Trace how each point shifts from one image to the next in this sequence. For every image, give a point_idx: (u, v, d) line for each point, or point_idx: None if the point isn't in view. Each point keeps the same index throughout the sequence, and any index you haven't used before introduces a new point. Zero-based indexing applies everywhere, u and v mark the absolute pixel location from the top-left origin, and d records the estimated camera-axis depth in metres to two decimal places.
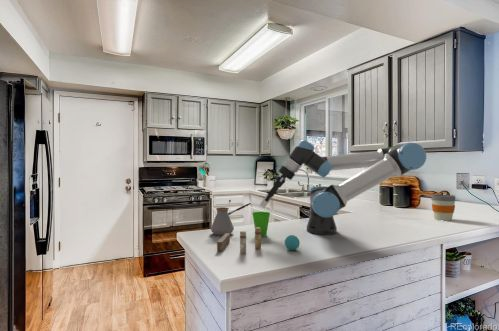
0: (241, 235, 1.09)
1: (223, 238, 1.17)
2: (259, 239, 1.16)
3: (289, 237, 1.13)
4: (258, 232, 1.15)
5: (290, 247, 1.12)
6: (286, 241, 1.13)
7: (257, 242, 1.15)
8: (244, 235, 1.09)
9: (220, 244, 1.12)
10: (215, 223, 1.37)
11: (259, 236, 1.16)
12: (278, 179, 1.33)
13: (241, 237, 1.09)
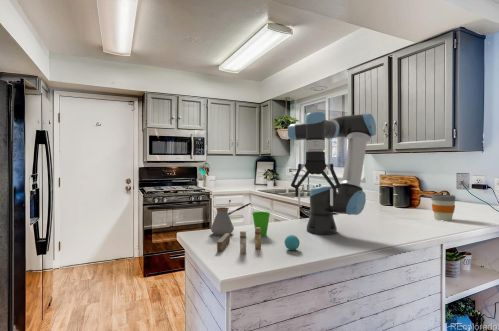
0: (241, 235, 1.09)
1: (223, 238, 1.17)
2: (259, 239, 1.16)
3: (289, 237, 1.13)
4: (258, 232, 1.15)
5: (290, 247, 1.12)
6: (286, 241, 1.13)
7: (257, 242, 1.15)
8: (244, 235, 1.09)
9: (220, 244, 1.12)
10: (215, 223, 1.37)
11: (259, 236, 1.16)
12: (321, 168, 1.11)
13: (241, 237, 1.09)
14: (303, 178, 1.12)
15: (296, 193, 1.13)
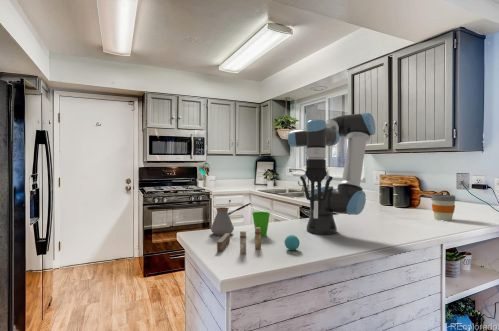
0: (241, 235, 1.09)
1: (223, 238, 1.17)
2: (259, 239, 1.16)
3: (289, 237, 1.13)
4: (258, 232, 1.15)
5: (290, 247, 1.12)
6: (286, 241, 1.13)
7: (257, 242, 1.15)
8: (244, 235, 1.09)
9: (220, 244, 1.12)
10: (215, 223, 1.37)
11: (259, 236, 1.16)
12: (321, 178, 1.11)
13: (241, 237, 1.09)
14: (312, 189, 1.12)
15: (312, 206, 1.12)
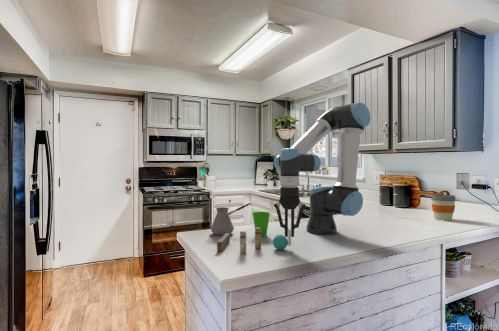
0: (241, 235, 1.09)
1: (223, 238, 1.17)
2: (259, 239, 1.16)
3: (273, 243, 1.14)
4: (258, 232, 1.15)
5: (282, 247, 1.12)
6: (276, 247, 1.14)
7: (257, 242, 1.15)
8: (244, 235, 1.09)
9: (220, 244, 1.12)
10: (215, 223, 1.37)
11: (259, 236, 1.16)
12: (294, 205, 1.13)
13: (241, 237, 1.09)
14: (286, 216, 1.13)
15: (285, 233, 1.14)
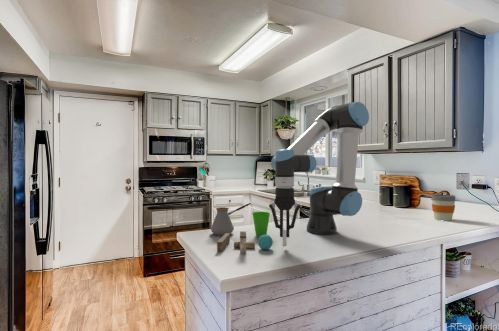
0: (241, 235, 1.09)
1: (223, 238, 1.17)
2: None
3: (267, 248, 1.14)
4: (237, 244, 1.16)
5: (266, 241, 1.13)
6: (270, 245, 1.14)
7: (247, 246, 1.16)
8: (244, 235, 1.09)
9: (220, 244, 1.12)
10: (215, 223, 1.37)
11: None
12: (289, 206, 1.13)
13: (241, 237, 1.09)
14: (281, 217, 1.14)
15: (281, 234, 1.14)
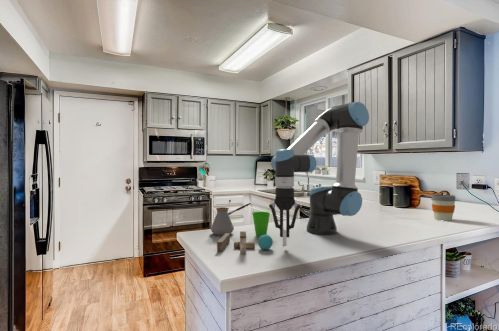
0: (241, 235, 1.09)
1: (223, 238, 1.17)
2: None
3: (267, 248, 1.14)
4: (237, 245, 1.16)
5: (266, 241, 1.13)
6: (270, 245, 1.14)
7: (247, 246, 1.16)
8: (244, 235, 1.09)
9: (220, 244, 1.12)
10: (215, 223, 1.37)
11: None
12: (289, 206, 1.13)
13: (241, 237, 1.09)
14: (281, 217, 1.14)
15: (281, 234, 1.14)
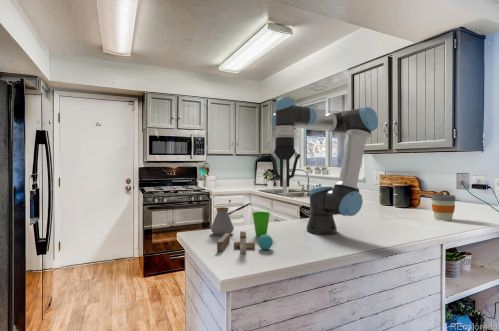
0: (241, 235, 1.09)
1: (223, 238, 1.17)
2: None
3: (267, 248, 1.14)
4: (237, 245, 1.16)
5: (266, 241, 1.13)
6: (270, 245, 1.14)
7: (247, 246, 1.16)
8: (244, 235, 1.09)
9: (220, 244, 1.12)
10: (215, 223, 1.37)
11: None
12: (289, 155, 1.13)
13: (241, 237, 1.09)
14: (281, 166, 1.14)
15: (281, 184, 1.14)
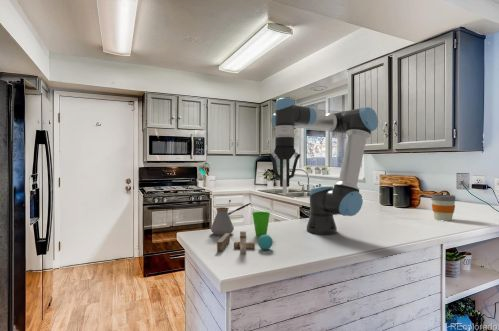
0: (241, 235, 1.09)
1: (223, 238, 1.17)
2: None
3: (267, 248, 1.14)
4: (237, 245, 1.16)
5: (266, 241, 1.13)
6: (270, 245, 1.14)
7: (247, 247, 1.16)
8: (244, 235, 1.09)
9: (220, 244, 1.12)
10: (215, 223, 1.37)
11: None
12: (289, 155, 1.13)
13: (241, 237, 1.09)
14: (281, 166, 1.14)
15: (281, 183, 1.14)
